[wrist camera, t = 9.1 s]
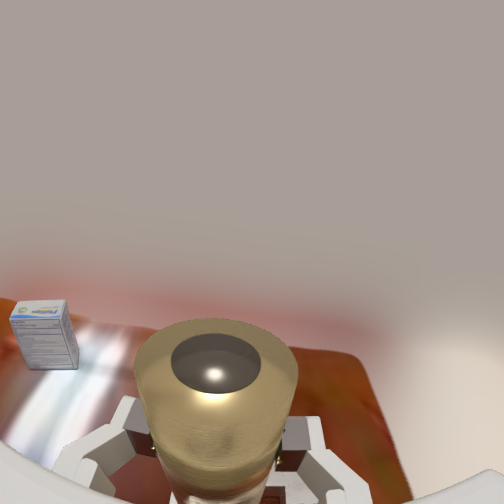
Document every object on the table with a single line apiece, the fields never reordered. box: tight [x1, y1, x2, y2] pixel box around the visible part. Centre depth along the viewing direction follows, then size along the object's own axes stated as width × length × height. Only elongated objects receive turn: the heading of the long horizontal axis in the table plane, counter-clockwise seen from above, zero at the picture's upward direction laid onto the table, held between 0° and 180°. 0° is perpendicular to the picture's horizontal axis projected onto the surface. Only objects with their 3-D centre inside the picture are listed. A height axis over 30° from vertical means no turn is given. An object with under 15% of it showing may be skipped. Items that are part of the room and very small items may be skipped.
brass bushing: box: [134, 318, 298, 504], centre depth 9 cm, size 4×4×10 cm
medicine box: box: [9, 300, 79, 369], centre depth 29 cm, size 8×4×9 cm, turn 113°
